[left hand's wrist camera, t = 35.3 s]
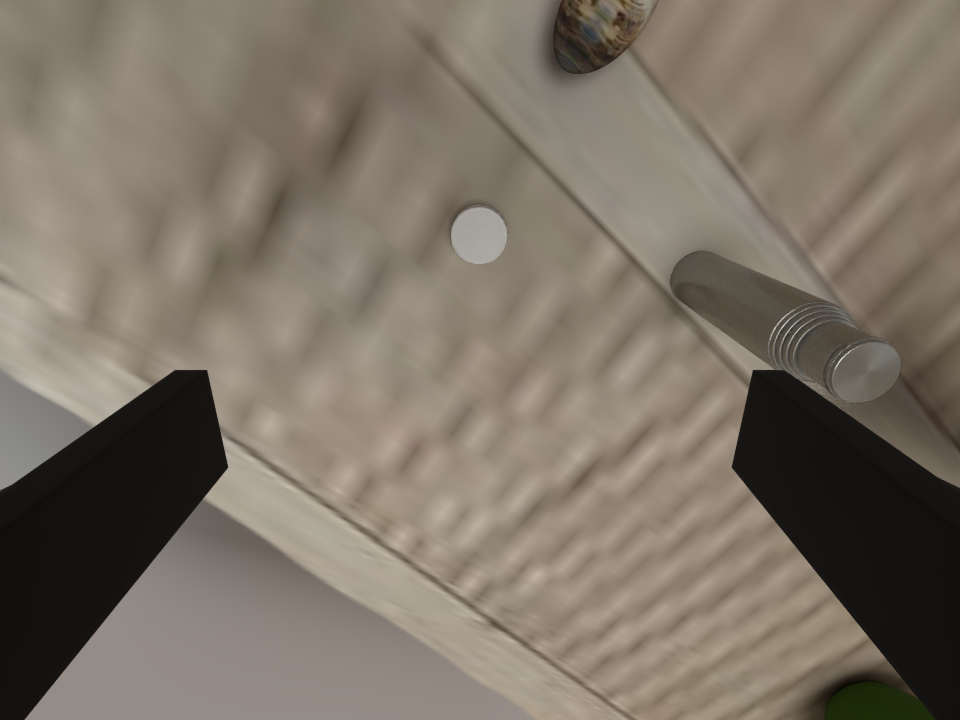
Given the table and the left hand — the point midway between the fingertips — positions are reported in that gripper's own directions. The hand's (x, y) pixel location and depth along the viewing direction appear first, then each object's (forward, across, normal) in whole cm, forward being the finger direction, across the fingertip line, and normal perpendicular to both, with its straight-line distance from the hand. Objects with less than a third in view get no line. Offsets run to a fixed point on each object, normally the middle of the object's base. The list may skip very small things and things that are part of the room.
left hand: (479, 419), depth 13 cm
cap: (+31, 0, 0) cm, 32 cm away
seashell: (+34, +9, +16) cm, 38 cm away
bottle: (+34, +20, -4) cm, 39 cm away
